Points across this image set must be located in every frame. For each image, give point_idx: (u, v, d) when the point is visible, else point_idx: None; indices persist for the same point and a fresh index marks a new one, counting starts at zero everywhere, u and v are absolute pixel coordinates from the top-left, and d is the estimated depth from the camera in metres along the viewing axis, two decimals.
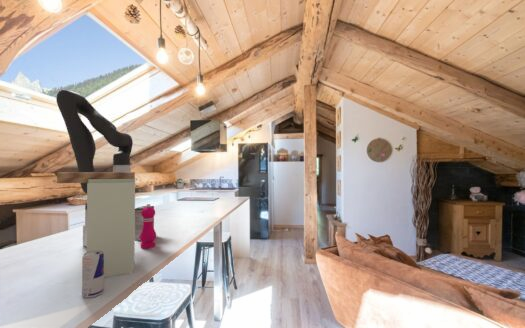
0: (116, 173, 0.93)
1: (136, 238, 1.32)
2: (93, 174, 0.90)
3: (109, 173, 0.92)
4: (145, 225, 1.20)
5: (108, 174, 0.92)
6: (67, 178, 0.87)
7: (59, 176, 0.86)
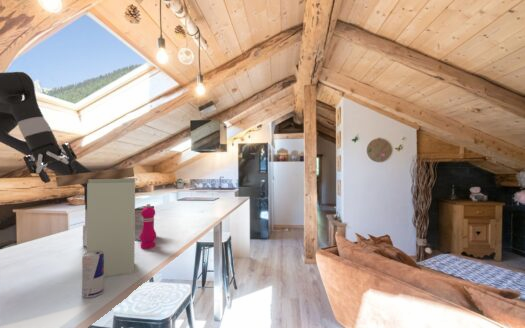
0: (114, 170, 0.93)
1: (136, 238, 1.32)
2: (92, 174, 0.90)
3: (107, 171, 0.92)
4: (145, 225, 1.20)
5: (107, 172, 0.92)
6: (66, 181, 0.87)
7: (58, 180, 0.86)
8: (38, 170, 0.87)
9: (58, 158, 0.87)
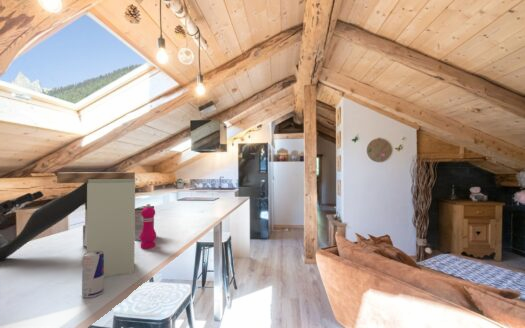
0: (116, 173, 0.93)
1: (136, 238, 1.32)
2: (93, 174, 0.90)
3: (109, 173, 0.92)
4: (145, 225, 1.20)
5: (108, 174, 0.92)
6: (67, 178, 0.87)
7: (59, 176, 0.86)
8: (28, 203, 0.88)
9: (13, 209, 0.80)
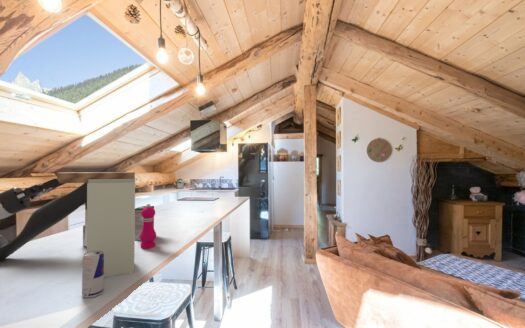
0: (116, 173, 0.93)
1: (136, 238, 1.32)
2: (93, 174, 0.90)
3: (109, 173, 0.92)
4: (145, 225, 1.20)
5: (108, 174, 0.92)
6: (67, 178, 0.87)
7: (59, 176, 0.86)
8: (53, 189, 0.90)
9: (40, 194, 0.83)
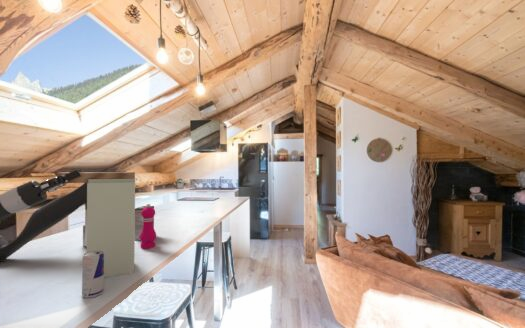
0: (116, 173, 0.93)
1: (136, 238, 1.32)
2: (93, 174, 0.90)
3: (109, 173, 0.92)
4: (145, 225, 1.20)
5: (108, 174, 0.92)
6: None
7: None
8: None
9: (60, 186, 0.86)
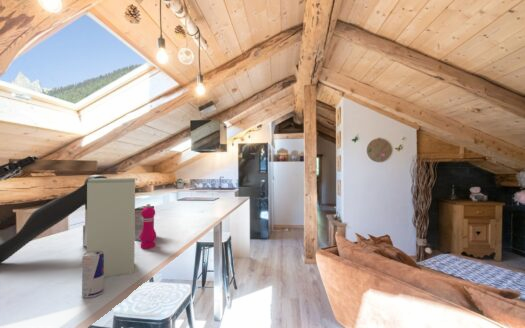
0: (75, 161, 0.88)
1: (136, 238, 1.32)
2: (49, 161, 0.85)
3: (67, 161, 0.87)
4: (145, 225, 1.20)
5: (66, 162, 0.87)
6: None
7: None
8: None
9: (12, 173, 0.81)
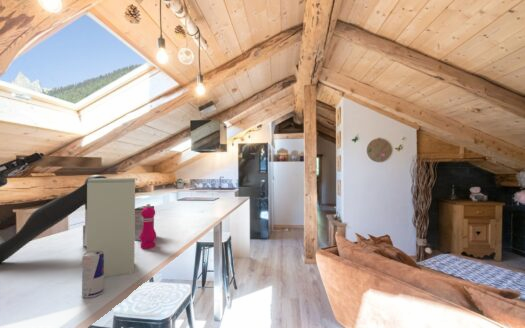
0: (80, 157, 0.90)
1: (136, 238, 1.32)
2: (55, 158, 0.87)
3: (73, 157, 0.89)
4: (145, 225, 1.20)
5: (72, 158, 0.89)
6: None
7: None
8: None
9: (20, 169, 0.83)
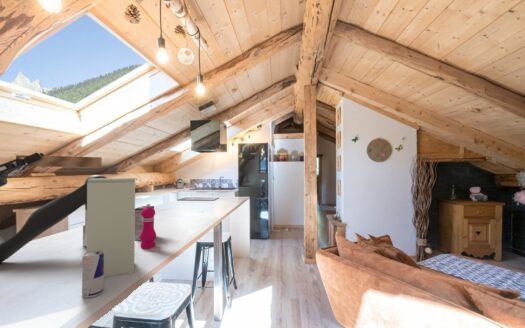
0: (80, 157, 0.90)
1: (136, 238, 1.32)
2: (55, 158, 0.87)
3: (73, 157, 0.89)
4: (145, 225, 1.20)
5: (72, 158, 0.89)
6: None
7: None
8: None
9: (20, 169, 0.83)
